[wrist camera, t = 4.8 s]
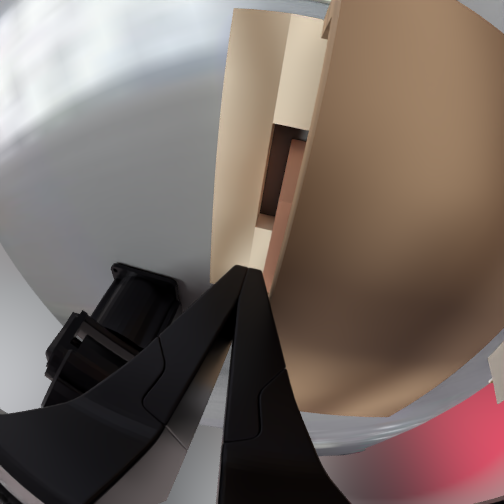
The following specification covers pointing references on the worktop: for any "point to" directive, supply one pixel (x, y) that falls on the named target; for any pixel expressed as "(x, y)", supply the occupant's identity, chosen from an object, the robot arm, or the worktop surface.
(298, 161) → the block
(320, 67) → the board
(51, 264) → the worktop surface
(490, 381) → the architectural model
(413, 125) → the brown wooden u-shape
